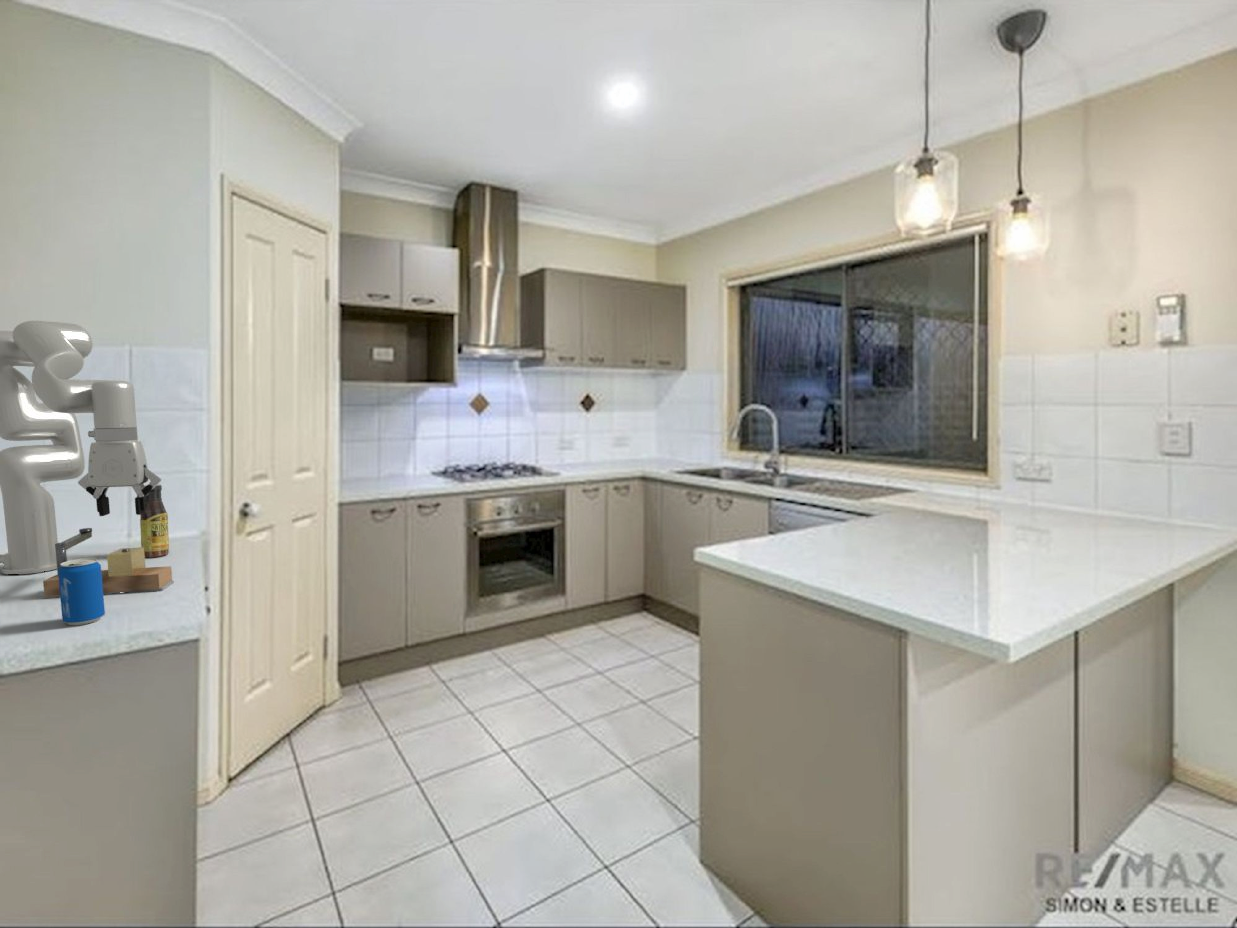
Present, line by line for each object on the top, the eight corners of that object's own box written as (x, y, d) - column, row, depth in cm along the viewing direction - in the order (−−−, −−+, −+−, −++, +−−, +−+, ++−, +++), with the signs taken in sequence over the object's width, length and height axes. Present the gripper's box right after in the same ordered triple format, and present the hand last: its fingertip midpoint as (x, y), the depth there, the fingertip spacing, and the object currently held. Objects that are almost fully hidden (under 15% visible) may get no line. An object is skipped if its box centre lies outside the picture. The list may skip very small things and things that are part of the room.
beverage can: (53, 625, 124) (48, 565, 123) (86, 614, 131) (81, 557, 129) (82, 627, 123) (77, 566, 122) (113, 616, 130) (108, 558, 128)
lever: (67, 575, 144) (64, 541, 143) (54, 576, 143) (51, 542, 142) (96, 558, 159) (93, 527, 158) (84, 559, 158) (81, 528, 157)
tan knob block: (108, 576, 144) (106, 553, 143) (122, 569, 150) (120, 546, 149) (132, 575, 145) (130, 551, 144) (145, 567, 151) (143, 545, 150)
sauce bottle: (155, 559, 175) (149, 487, 173) (136, 557, 176) (130, 486, 174) (176, 553, 181) (171, 483, 179) (157, 552, 182) (152, 483, 180)
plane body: (42, 598, 141) (40, 581, 140) (61, 589, 147) (59, 572, 147) (161, 591, 146) (160, 574, 146) (174, 582, 153) (173, 566, 153)
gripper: (61, 437, 138) (68, 519, 140) (153, 436, 143) (159, 515, 144) (80, 435, 145) (87, 513, 147) (167, 434, 150) (173, 510, 152)
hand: (122, 513), depth 146 cm, fingers open, 6 cm apart
